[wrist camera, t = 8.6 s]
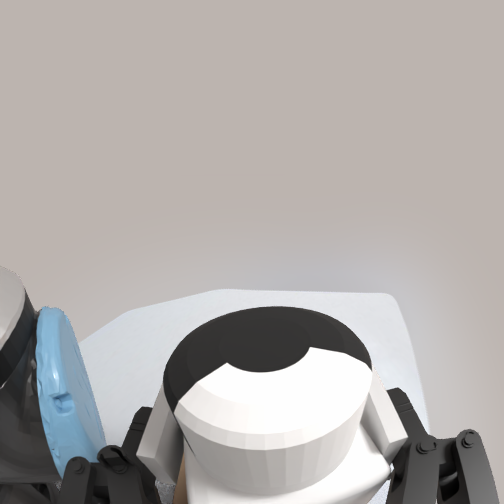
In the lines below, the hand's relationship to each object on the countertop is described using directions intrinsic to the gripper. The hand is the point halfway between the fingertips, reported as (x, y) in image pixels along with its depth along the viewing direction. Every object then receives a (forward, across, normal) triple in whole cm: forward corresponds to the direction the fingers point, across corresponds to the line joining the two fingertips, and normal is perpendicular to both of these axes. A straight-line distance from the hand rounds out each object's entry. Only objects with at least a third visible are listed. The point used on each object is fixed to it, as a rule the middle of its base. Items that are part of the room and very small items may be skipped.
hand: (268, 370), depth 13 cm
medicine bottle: (-5, 0, -7) cm, 8 cm away
